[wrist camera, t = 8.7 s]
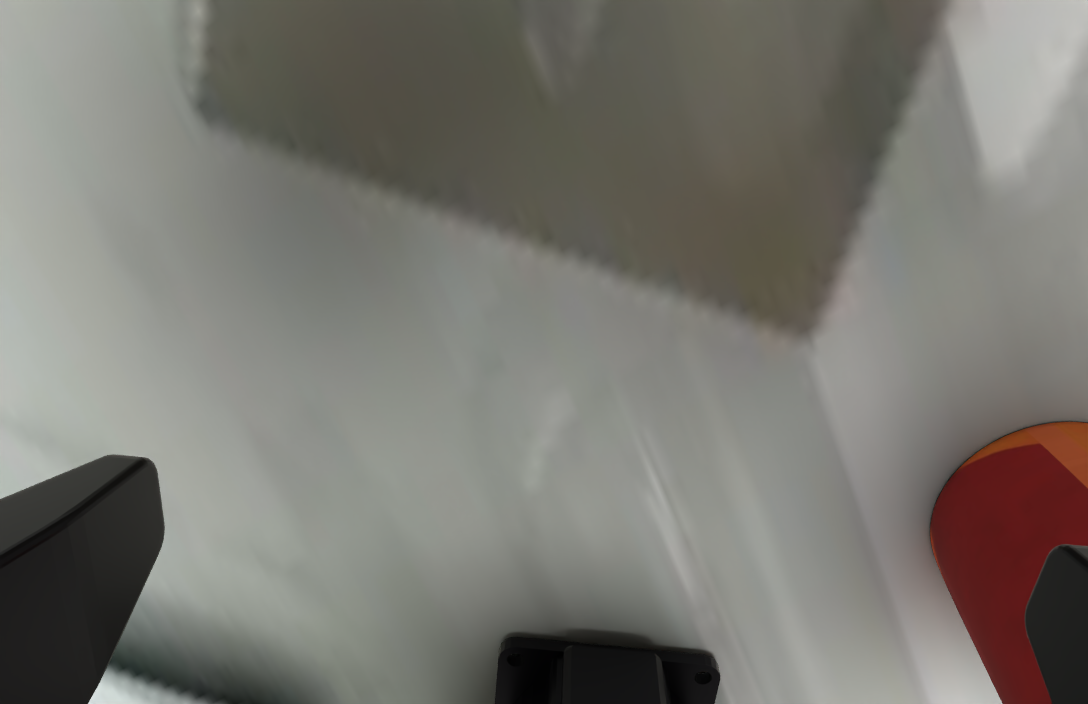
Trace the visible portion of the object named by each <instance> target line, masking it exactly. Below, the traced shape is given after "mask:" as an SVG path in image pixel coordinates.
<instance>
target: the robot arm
mask: <svg viewBox="0 0 1088 704" xmlns="http://www.w3.org/2000/svg"><path fill="white" fill-rule="evenodd" d="M164 530H165V526H164V517H163V509H162V502H161V494H160V487H159V480H158V473H157V469H156V467H155V465H154V463H153V462H152V461H151V460H150V459H148V458H145V457H135V456H124V455H107V456H104V457H101V458H99V459H97V460H94V461H92V462H89V463H87V464H84V465H82V466H80V467H77V468H75V469H72V470H70V471H68V472H65V473H63V474H60V475H58V476H55V477H53V478H51V479H48V480H46V481H43V482H41V483H38V484H36V485H34V486H31V487H29V488H26V489H24V490H21V491H19V492H17V493H14V494H12V495H9V496H7V497H4V498H2V499H0V704H88V702H89V701H90V699H91V697H92V695H93V693H94V692H95V690H96V688H97V686H98V684H99V683H100V680H101V678H102V676H103V674H104V672H105V670H106V668H107V666H108V664H109V662H110V660H111V658H112V656H113V653H114V651H115V649H116V647H117V645H118V642H119V640H120V638H121V636H122V634H123V631H124V629H125V627H126V625H127V623H128V620H129V618H130V616H131V614H132V612H133V609H134V607H135V605H136V603H137V601H138V598H139V596H140V594H141V592H142V590H143V587H144V585H145V583H146V581H147V579H148V576H149V574H150V572H151V570H152V568H153V565H154V563H155V561H156V559H157V557H158V554H159V552H160V550H161V547H162V543H163V539H164ZM1025 628H1026V632H1027V636H1028V638H1029V641H1030V644H1031V647H1032V649H1033V652H1034V655H1035V658H1036V660H1037V663H1038V666H1039V669H1040V671H1041V674H1042V677H1043V680H1044V682H1045V685H1046V688H1047V691H1048V693H1049V696H1050V699H1051V702H1052V704H1088V546H1080V545H1069V544H1061V545H1059V546H1056V547H1054V548H1053V549H1052V550H1051V551H1050V552H1049V554H1048V556H1047V558H1046V560H1045V563H1044V565H1043V567H1042V570H1041V572H1040V574H1039V577H1038V579H1037V581H1036V584H1035V586H1034V589H1033V591H1032V593H1031V596H1030V598H1029V600H1028V603H1027V606H1026V609H1025ZM515 653H517V654H520V655H521V656H513V655H511V654H515ZM703 671H705V672H706V673H704V674H698V673H699V672H703ZM719 682H720V672H719V667H718V663H717V662H716V660H715V659H713V658H712V657H710V656H707V655H701V654H690V653H680V652H669V651H659V650H648V649H638V648H627V647H617V646H606V645H596V644H586V643H575V642H565V641H554V640H544V639H533V638H523V637H511V638H508V639H506V640H505V641H504V642H503V643H501V646H500V651H499V659H498V672H497V684H496V697H495V704H714V703H715V699H716V695H717V691H718V686H719Z"/></svg>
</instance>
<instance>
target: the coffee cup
mask: <svg viewBox="0 0 1088 704" xmlns="http://www.w3.org/2000/svg"><path fill="white" fill-rule="evenodd" d="M930 538H931V545H932V549H933V553H934V556H935V559H936V562H937V564H938V567H939V569H940V572H941V574H942V577H943V579H944V581H945V583H946V586H947V588H948V590H949V592H950V594H951V596H952V599H953V601H954V603H955V605H956V607H957V609H958V612H959V614H960V616H961V618H962V620H963V622H964V624H965V626H966V628H967V630H968V633H969V635H970V637H971V639H972V641H973V643H974V645H975V647H976V649H977V651H978V653H979V655H980V658H981V660H982V662H983V664H984V666H985V668H986V670H987V672H988V674H989V676H990V678H991V680H992V682H993V685H994V687H995V689H996V691H997V693H998V695H999V697H1000V699H1001V701H1002V703H1003V704H1052V702H1051V699H1050V696H1049V693H1048V691H1047V688H1046V685H1045V682H1044V680H1043V677H1042V674H1041V671H1040V669H1039V666H1038V663H1037V660H1036V658H1035V655H1034V652H1033V649H1032V647H1031V644H1030V641H1029V638H1028V636H1027V632H1026V628H1025V609H1026V606H1027V603H1028V600H1029V598H1030V596H1031V593H1032V591H1033V589H1034V586H1035V584H1036V581H1037V579H1038V577H1039V574H1040V572H1041V570H1042V567H1043V565H1044V563H1045V560H1046V558H1047V556H1048V554H1049V552H1050V551H1051V550H1052V549H1053V548H1054V547H1056V546H1059V545H1061V544H1069V545H1080V546H1088V423H1084V422H1055V423H1048V424H1041V425H1037V426H1032V427H1029V428H1025V429H1022V430H1019V431H1016V432H1014V433H1011V434H1009V435H1006V436H1004V437H1002V438H1000V439H998V440H996V441H994V442H992V443H991V444H989V445H987V446H986V447H984V448H983V449H981V450H980V451H978V452H977V453H976V454H974V455H973V456H972V457H971V458H969V459H968V460H967V461H966V462H965V463H964V464H963V465H962V466H961V467H960V468H959V469H958V470H957V471H956V472H955V473H954V474H953V475H952V477H951V478H950V479H949V480H948V482H947V483H946V485H945V486H944V488H943V490H942V491H941V493H940V495H939V497H938V499H937V501H936V504H935V507H934V510H933V513H932V518H931V525H930Z"/></svg>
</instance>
